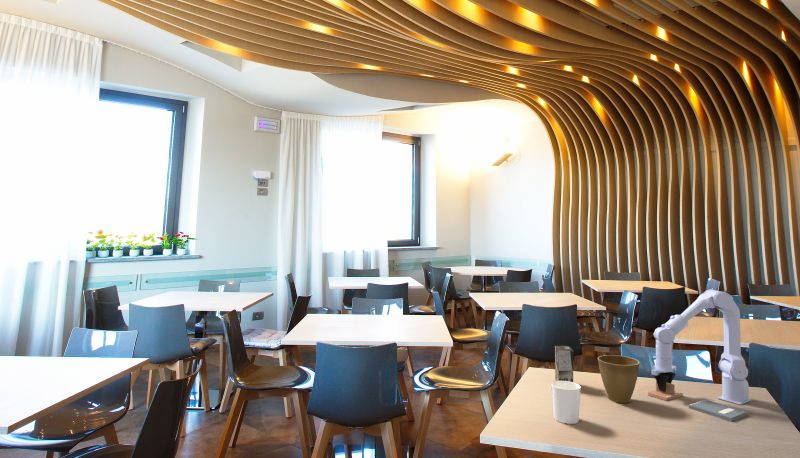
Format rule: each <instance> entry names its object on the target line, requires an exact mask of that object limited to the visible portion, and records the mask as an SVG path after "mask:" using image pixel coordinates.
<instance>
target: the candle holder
mask: <svg viewBox="0 0 800 458" xmlns="http://www.w3.org/2000/svg"><path fill="white" fill-rule="evenodd" d="M550 385H551V396H552V398H551V399H552V410H553V411H552V414H553V418H554V420H555V421H556V420H557V421H556V422H558V421H559V422H558V423H561V422H562V423H561V424H565V423H567V424H566V425H574V424H578V422H579V419H580V408H581V407H580V406H581V390H582V386H581V385H580V384H578V383H575V382H574V381H573V382H569V381H552V382H551V384H550Z"/></svg>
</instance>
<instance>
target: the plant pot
mask: <svg viewBox="0 0 800 458" xmlns="http://www.w3.org/2000/svg"><path fill="white" fill-rule="evenodd" d="M597 363H598V369H599V373H600V376H601V381H602V383H603V387H604V390H605V393H606V395H607V398H608V400H609V401H612V402H613V403H616V404H617V403H618V404H628V403H630V402H631V399H632V397H633V394H634V391H635V387H636V384H637V380H638V374H639V369H640V361H639V360H638V359H635V358H633V357H630V356H626V355H625V356H624V355H616V354H604V355H600V356H598V357H597Z"/></svg>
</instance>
